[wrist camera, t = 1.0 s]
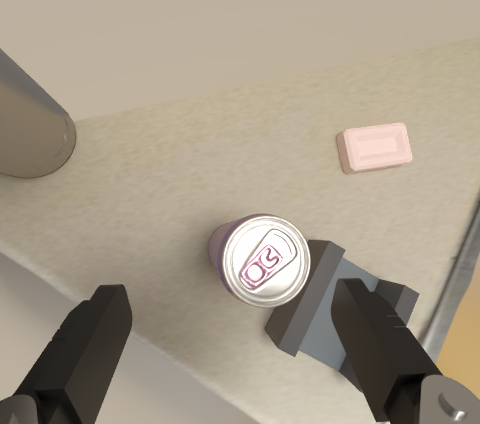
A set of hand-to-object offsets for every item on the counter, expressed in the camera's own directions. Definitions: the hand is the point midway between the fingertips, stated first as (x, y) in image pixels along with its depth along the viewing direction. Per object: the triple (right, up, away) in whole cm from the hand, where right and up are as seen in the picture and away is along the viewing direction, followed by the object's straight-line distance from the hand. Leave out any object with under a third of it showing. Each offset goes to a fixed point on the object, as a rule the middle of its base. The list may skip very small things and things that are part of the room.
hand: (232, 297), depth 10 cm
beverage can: (-1, -1, +21) cm, 21 cm away
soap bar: (+18, +12, +25) cm, 33 cm away
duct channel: (+11, -8, +22) cm, 26 cm away
